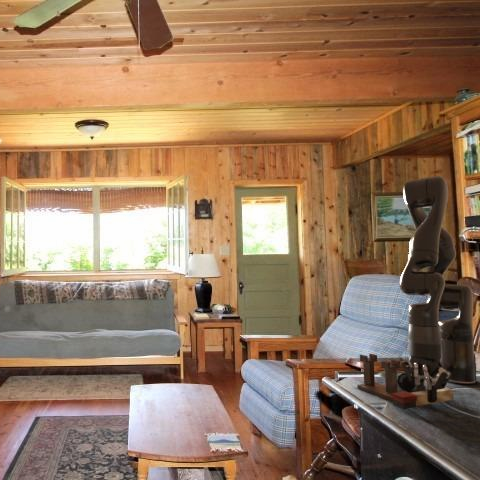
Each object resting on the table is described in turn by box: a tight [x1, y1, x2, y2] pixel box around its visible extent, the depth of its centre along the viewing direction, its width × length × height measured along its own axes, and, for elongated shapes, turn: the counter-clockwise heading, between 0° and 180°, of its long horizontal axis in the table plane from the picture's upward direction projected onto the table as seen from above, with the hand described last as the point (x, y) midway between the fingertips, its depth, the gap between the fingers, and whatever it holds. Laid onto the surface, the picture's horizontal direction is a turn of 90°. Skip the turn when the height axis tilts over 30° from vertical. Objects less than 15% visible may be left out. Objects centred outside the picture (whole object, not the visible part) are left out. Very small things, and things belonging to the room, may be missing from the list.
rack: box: [356, 353, 404, 403], centre depth 130 cm, size 13×8×11 cm, turn 16°
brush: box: [392, 386, 454, 410], centre depth 118 cm, size 20×4×3 cm, turn 107°
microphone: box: [380, 371, 416, 392], centre depth 139 cm, size 6×6×20 cm
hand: (426, 400), depth 118 cm, fingers closed on brush, 2 cm apart
